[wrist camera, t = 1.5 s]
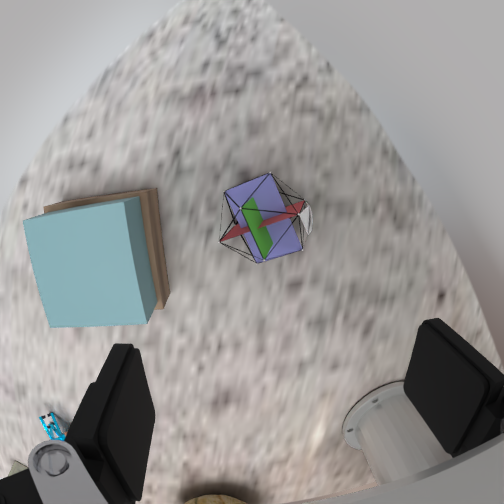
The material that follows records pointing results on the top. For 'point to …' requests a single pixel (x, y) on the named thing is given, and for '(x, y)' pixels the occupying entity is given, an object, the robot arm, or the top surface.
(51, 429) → the stick construction toy
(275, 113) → the top surface
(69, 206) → the base block
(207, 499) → the cantaloupe
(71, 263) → the top block
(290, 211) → the geometric puzzle
